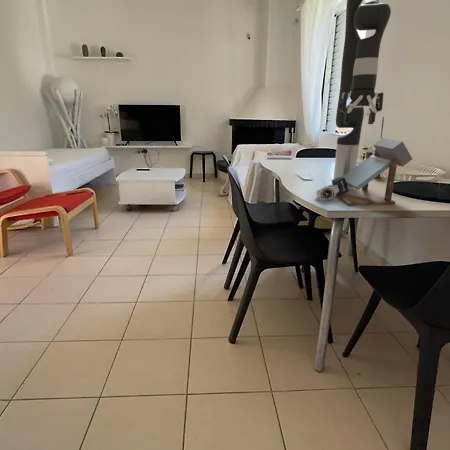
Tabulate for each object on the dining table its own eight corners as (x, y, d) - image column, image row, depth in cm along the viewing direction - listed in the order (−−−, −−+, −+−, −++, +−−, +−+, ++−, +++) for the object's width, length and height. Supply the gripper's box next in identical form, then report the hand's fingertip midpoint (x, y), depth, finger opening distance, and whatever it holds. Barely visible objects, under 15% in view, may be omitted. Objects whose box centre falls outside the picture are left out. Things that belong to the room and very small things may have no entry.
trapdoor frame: (367, 190, 135) (372, 151, 129) (394, 204, 116) (402, 158, 111) (326, 192, 134) (330, 152, 128) (348, 205, 115) (354, 159, 109)
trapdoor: (390, 154, 127) (381, 137, 125) (413, 159, 114) (403, 141, 112) (345, 187, 130) (335, 172, 128) (362, 196, 117) (351, 180, 115)
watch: (351, 191, 121) (325, 203, 120) (340, 190, 129) (315, 201, 128) (347, 177, 120) (321, 189, 118) (336, 176, 127) (311, 188, 126)
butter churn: (387, 178, 157) (397, 117, 147) (365, 177, 160) (374, 117, 150) (385, 175, 165) (394, 116, 155) (364, 174, 168) (372, 116, 158)
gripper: (379, 74, 114) (372, 123, 119) (339, 75, 113) (334, 124, 118) (391, 72, 107) (383, 124, 112) (349, 73, 106) (343, 125, 111)
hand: (358, 124), depth 115 cm, fingers open, 8 cm apart
